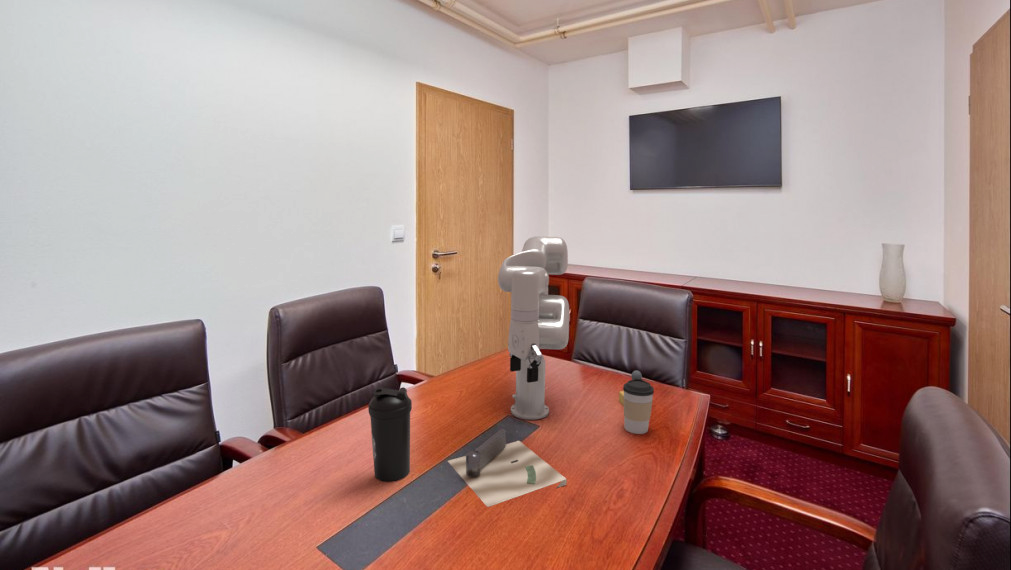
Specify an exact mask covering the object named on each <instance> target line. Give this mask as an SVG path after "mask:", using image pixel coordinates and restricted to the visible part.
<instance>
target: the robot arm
mask: <svg viewBox="0 0 1011 570" xmlns="http://www.w3.org/2000/svg"><path fill="white" fill-rule="evenodd" d="M568 256H569V255H568V245H567V243H566V241H565V240H564V238H562V237H559V236H532V237H529V238H528V239H526V241H525V242H524V244H523V247H522V250H521V252H518V253H515V254H512V255H510V256H507V257H506V258H505V259H503V261H502V263H501V265H500V268H499V270H498V275H497V283H498V287H499V289H500V290H502V291H503V292H506V293H511V295H510V296H511V298H510V305H511V307H510V321H509V329H508V339H507V343H508V344H507V349H508V350H507V351H508V352H509V357H510V358H509V359H510V360H509V371H510V372H512V373H513V372H515V393H514V394H512V398H513V399H514V404H512V405H511V406H510V412H511V414H512V415H513V417H516V418H518V419H521V420H528V421H533V420H540V419H544V418H545V417H546V418H547V416H548V415H549V413H550V408H549V406H547V405H546V404H545V393H546V390H545V389H546V359H545V357H544V355H543V354H542V352H541V351H540V350H563V349H566V347H567V345H568V343H569V339H570V337H569V335H570V334H569V333H570V304H569V301H568V299H567V297H565V296H563V295H556V294H549V283H550V276H549V275H556V276H559V275H563V274H565V272H567V270H568V266H569V259H568Z"/></svg>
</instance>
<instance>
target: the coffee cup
mask: <svg viewBox="0 0 1011 570" xmlns="http://www.w3.org/2000/svg"><path fill="white" fill-rule="evenodd" d="M654 390H655V388H654V387H653V386H652V385H651V383H649V382H648V381H645V380H643V378H642V379H633V380H632V379H630V380H628V381H627V382H626V383H624V384H623V387H622V391H624V396H623V399H624V406H623V418H624V419H623V420H624V429H625V430H626V432H629V433H631V434H636V435H643V434H646V433H648V432H649V431H648V430H649V424H650V419H651V413H652V406H653V401H654V400H653V396H654V394H655V393H654V392H655V391H654Z"/></svg>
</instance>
